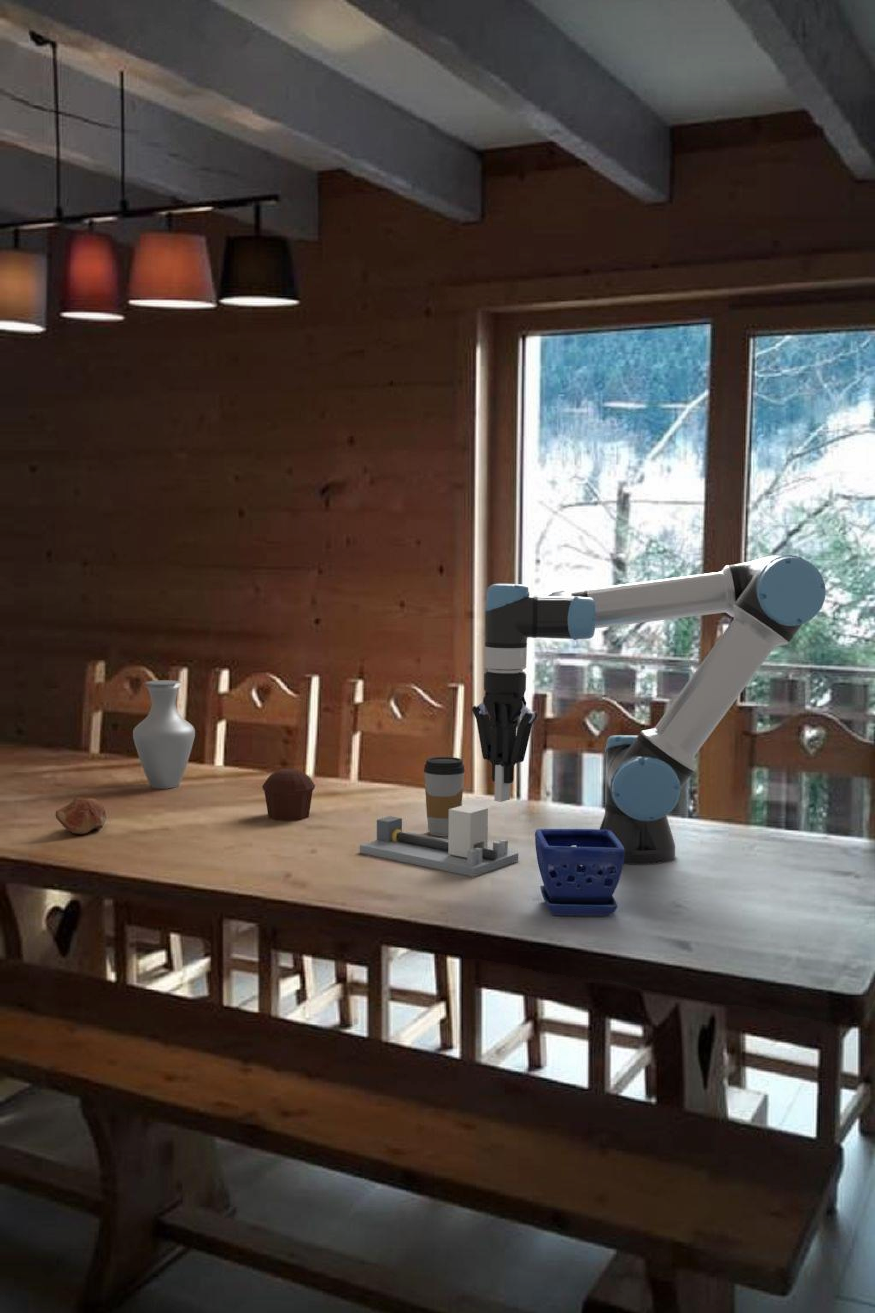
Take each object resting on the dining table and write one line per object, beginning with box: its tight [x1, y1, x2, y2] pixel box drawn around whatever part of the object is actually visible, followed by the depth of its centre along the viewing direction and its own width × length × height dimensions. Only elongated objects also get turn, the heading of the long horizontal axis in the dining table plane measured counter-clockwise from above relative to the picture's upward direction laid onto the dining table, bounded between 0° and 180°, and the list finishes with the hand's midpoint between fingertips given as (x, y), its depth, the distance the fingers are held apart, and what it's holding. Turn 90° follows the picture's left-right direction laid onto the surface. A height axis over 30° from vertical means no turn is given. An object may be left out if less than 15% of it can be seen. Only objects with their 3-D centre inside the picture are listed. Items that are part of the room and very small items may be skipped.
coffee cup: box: [423, 756, 466, 837], centre depth 264 cm, size 8×8×15 cm
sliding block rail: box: [359, 815, 519, 877], centre depth 246 cm, size 27×14×6 cm, turn 52°
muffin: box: [262, 768, 316, 822], centre depth 279 cm, size 12×11×10 cm
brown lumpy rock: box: [54, 796, 107, 835], centre depth 264 cm, size 13×8×10 cm
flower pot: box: [534, 828, 625, 917], centre depth 213 cm, size 13×13×12 cm
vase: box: [132, 679, 196, 790], centre depth 309 cm, size 14×14×25 cm
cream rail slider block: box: [447, 804, 489, 858], centre depth 241 cm, size 5×5×8 cm
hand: (502, 800), depth 235 cm, fingers closed
